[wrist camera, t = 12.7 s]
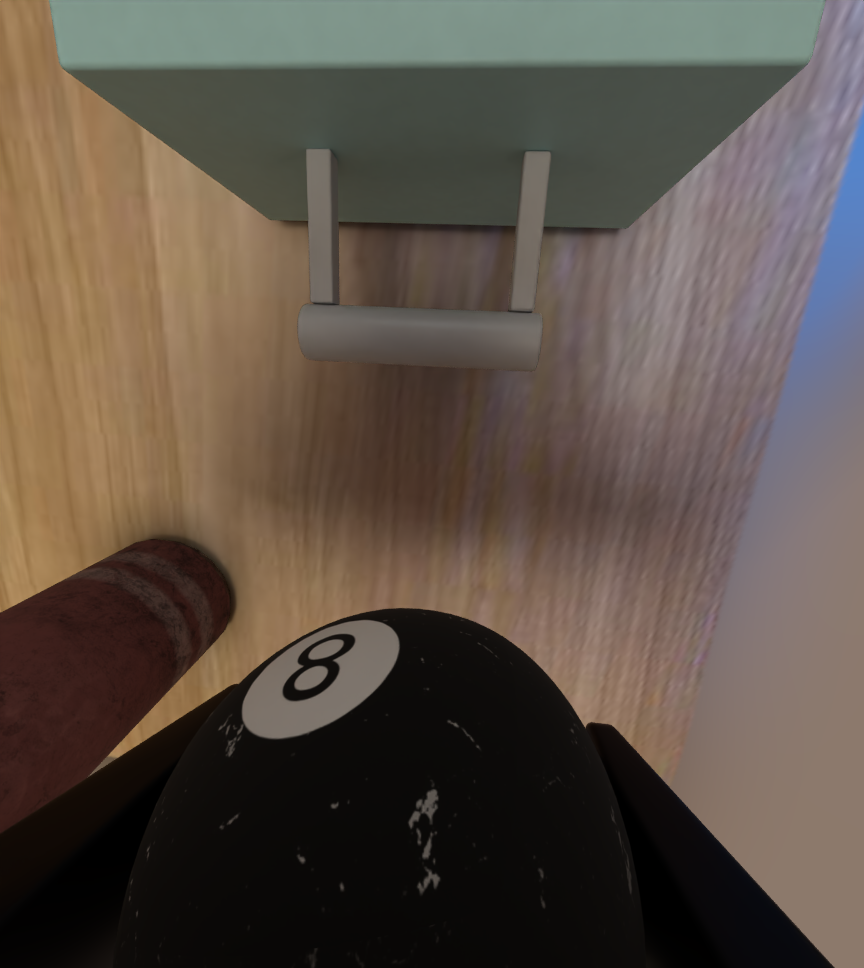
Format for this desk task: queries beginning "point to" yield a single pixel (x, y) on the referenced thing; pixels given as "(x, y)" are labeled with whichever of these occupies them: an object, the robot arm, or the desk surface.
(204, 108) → the mint green drawer
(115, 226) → the desk surface
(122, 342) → the desk surface
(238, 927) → the billiard ball
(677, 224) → the desk surface
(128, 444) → the desk surface
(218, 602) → the can
